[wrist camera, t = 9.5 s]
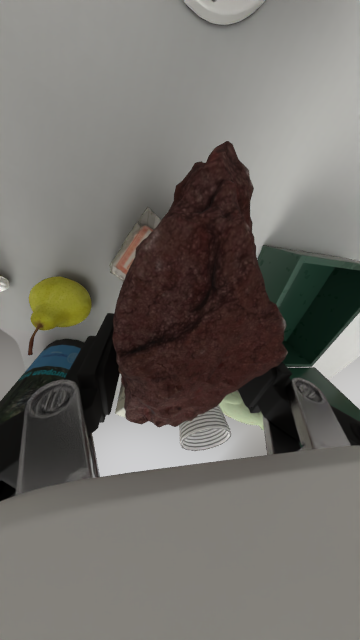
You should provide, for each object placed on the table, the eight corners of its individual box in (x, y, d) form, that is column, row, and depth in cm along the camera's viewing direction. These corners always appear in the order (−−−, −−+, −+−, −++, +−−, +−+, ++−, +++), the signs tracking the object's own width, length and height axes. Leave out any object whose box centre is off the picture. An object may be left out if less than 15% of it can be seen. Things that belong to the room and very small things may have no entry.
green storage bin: (263, 245, 24) (301, 254, 18) (340, 257, 27) (397, 269, 21) (226, 340, 35) (242, 367, 28) (285, 341, 38) (311, 366, 31)
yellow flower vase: (42, 267, 22) (-50, 308, 12) (94, 272, 23) (49, 313, 13) (56, 309, 26) (-7, 367, 16) (100, 312, 27) (68, 366, 17)
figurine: (258, 400, 52) (277, 434, 44) (212, 403, 50) (223, 440, 41) (271, 381, 47) (295, 417, 39) (220, 384, 44) (234, 422, 36)
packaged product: (98, 277, 19) (145, 203, 16) (108, 267, 23) (147, 206, 20) (197, 341, 27) (242, 301, 24) (192, 325, 31) (230, 289, 28)
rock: (211, 197, 9) (62, 231, 8) (349, 35, 3) (-211, 106, 2) (234, 357, 12) (135, 391, 11) (314, 437, 6) (122, 519, 6)
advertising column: (67, 380, 35) (-140, 765, 10) (26, 347, 29) (-741, 1115, 4) (113, 366, 35) (6, 739, 10) (80, 328, 28) (-444, 1105, 4)
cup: (179, 380, 41) (191, 454, 28) (165, 360, 36) (171, 440, 23) (209, 368, 40) (236, 440, 27) (199, 347, 35) (225, 422, 22)
